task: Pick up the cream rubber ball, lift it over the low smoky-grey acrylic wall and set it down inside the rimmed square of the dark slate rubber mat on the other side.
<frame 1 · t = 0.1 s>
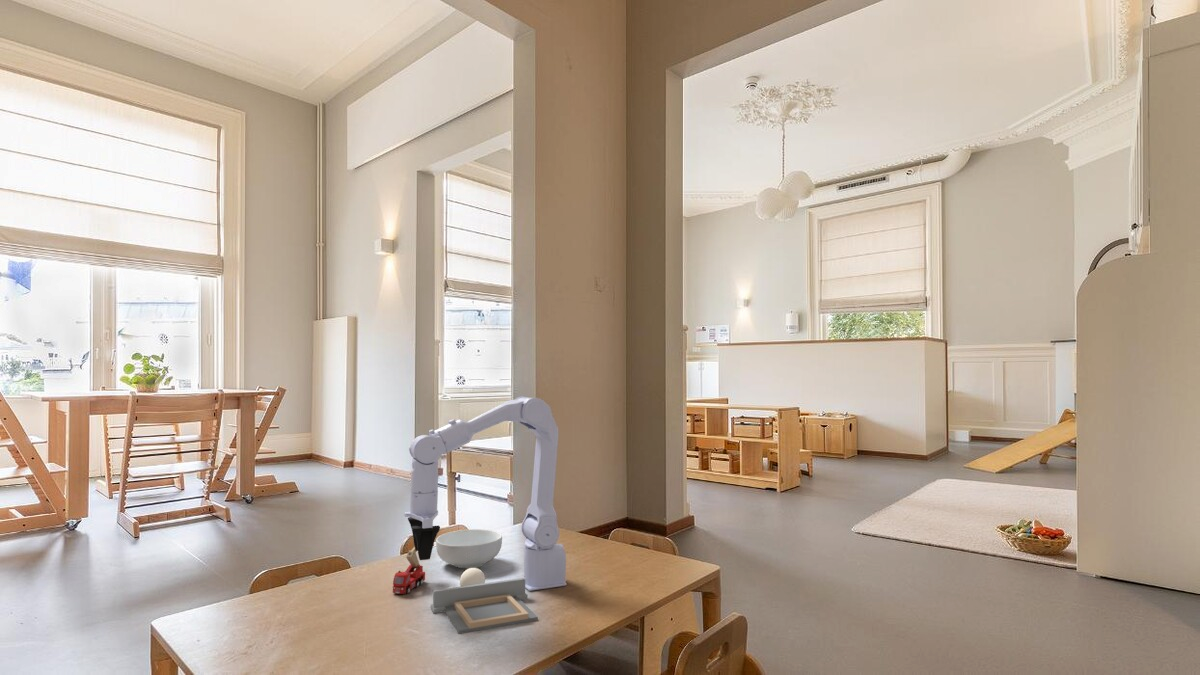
hand: (422, 554, 135), 10 cm above the table, tool pointing down, fingers open, 7 cm apart
acrylic wall: (480, 603, 133), on the table
ball: (472, 581, 139), point 3 cm above the table
resting mat: (490, 615, 126), on the table
toy fire truck: (412, 586, 144), on the table
cereal bowl: (468, 564, 161), on the table
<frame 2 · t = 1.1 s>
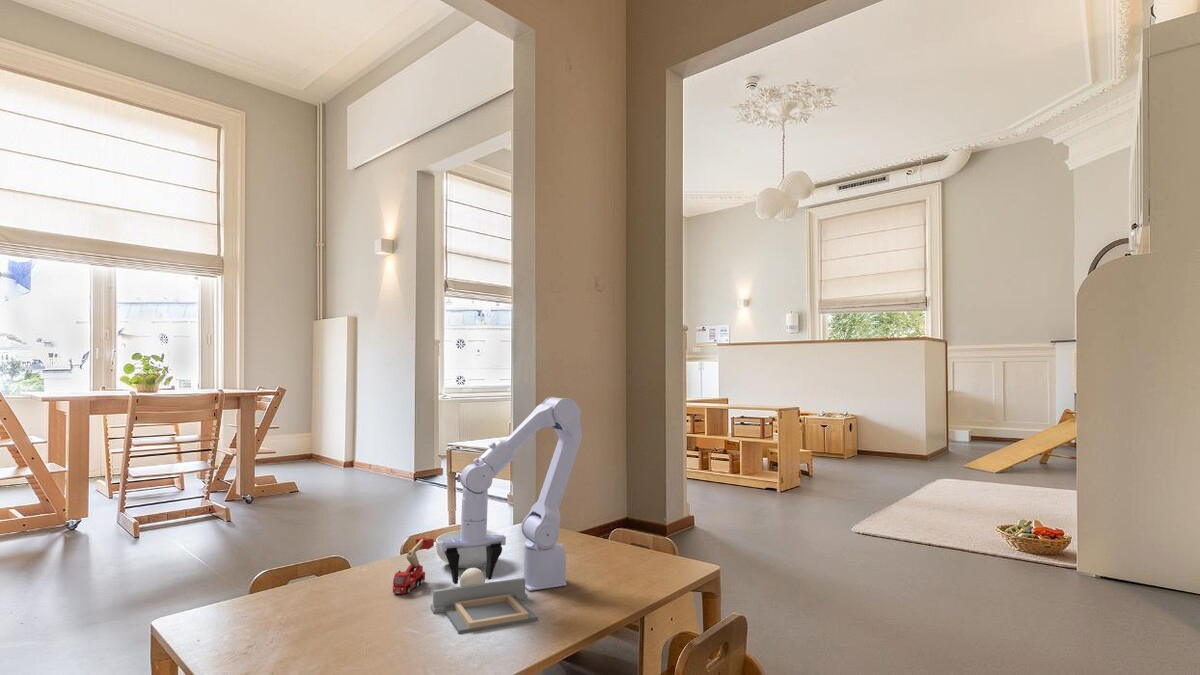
hand: (472, 580, 139), 3 cm above the table, tool pointing down, fingers open, 7 cm apart
nothing on the table moved.
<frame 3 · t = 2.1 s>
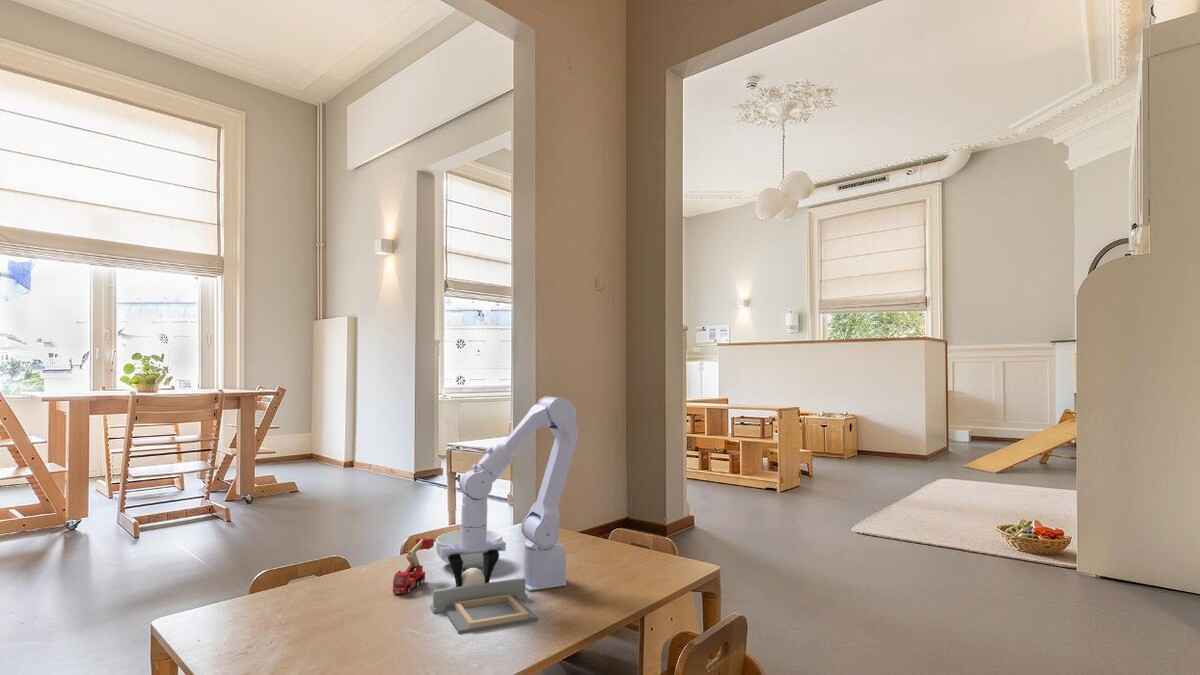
hand: (472, 586, 139), 2 cm above the table, tool pointing down, fingers closed on ball, 6 cm apart
ball: (472, 581, 139), point 3 cm above the table, touching gripper
everything else where it was.
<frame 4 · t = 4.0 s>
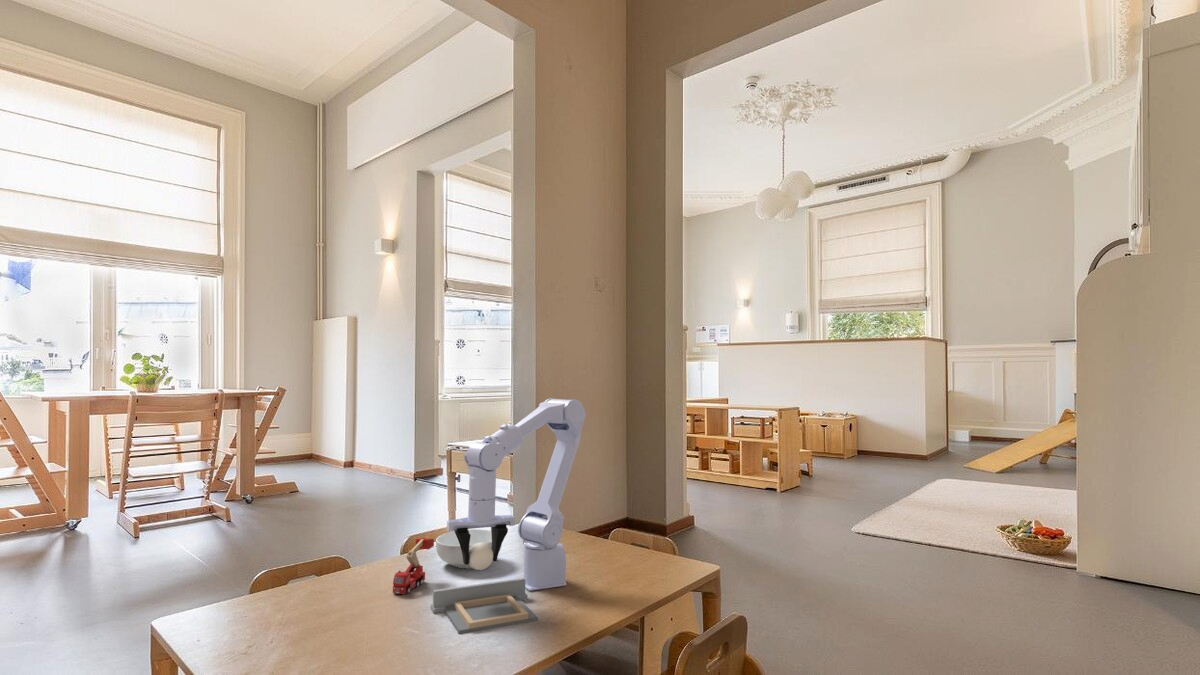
hand: (480, 561, 134), 9 cm above the table, tool pointing down, fingers closed on ball, 6 cm apart
ball: (480, 556, 134), point 10 cm above the table, touching gripper
everything else where it was.
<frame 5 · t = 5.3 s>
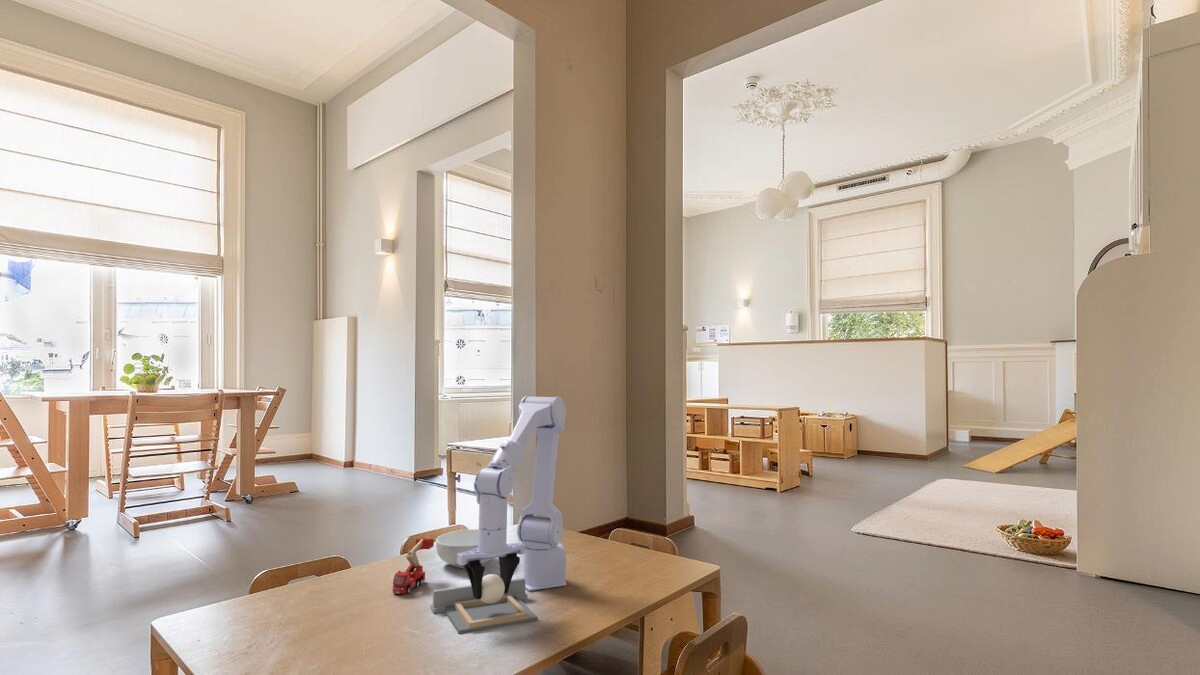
hand: (490, 594, 127), 4 cm above the table, tool pointing down, fingers closed on ball, 6 cm apart
ball: (490, 588, 127), point 5 cm above the table, touching gripper
everything else where it was.
when the fingers open (3 cm above the table, at t = 6.1 s): ball stays where it is, resting on resting mat.
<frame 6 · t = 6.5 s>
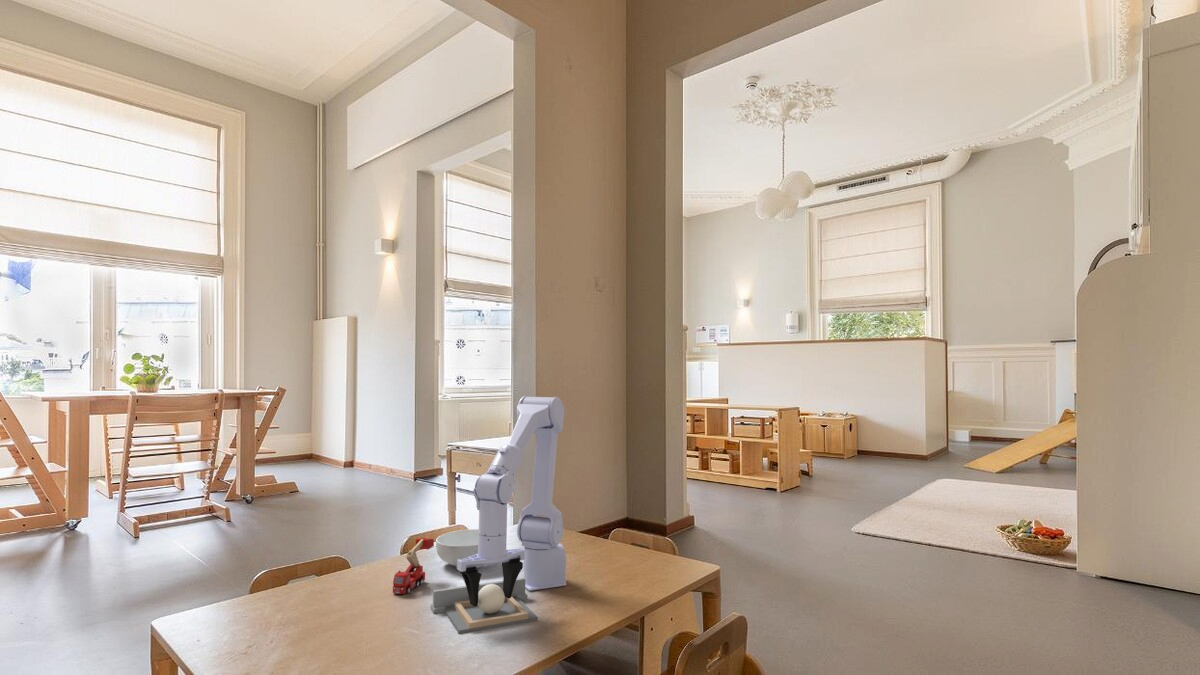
hand: (490, 600, 127), 3 cm above the table, tool pointing down, fingers open, 7 cm apart
ball: (490, 598, 127), point 3 cm above the table, touching resting mat
everything else where it was.
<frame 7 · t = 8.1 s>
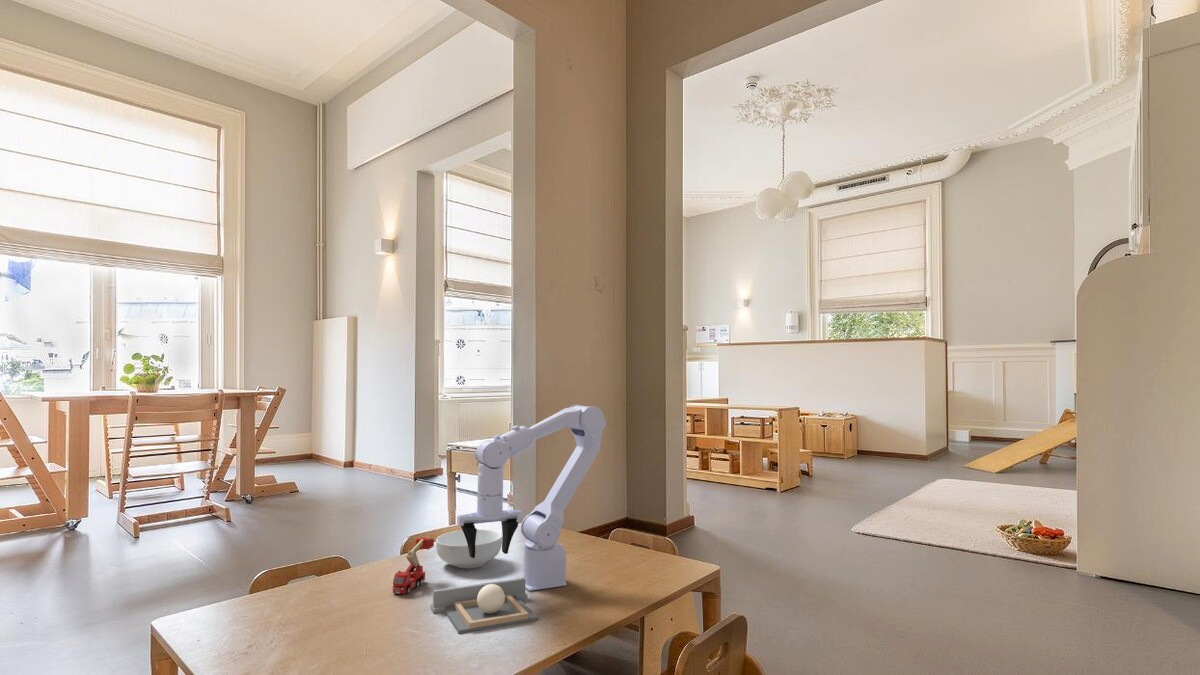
hand: (488, 554, 140), 8 cm above the table, tool pointing down, fingers open, 7 cm apart
nothing on the table moved.
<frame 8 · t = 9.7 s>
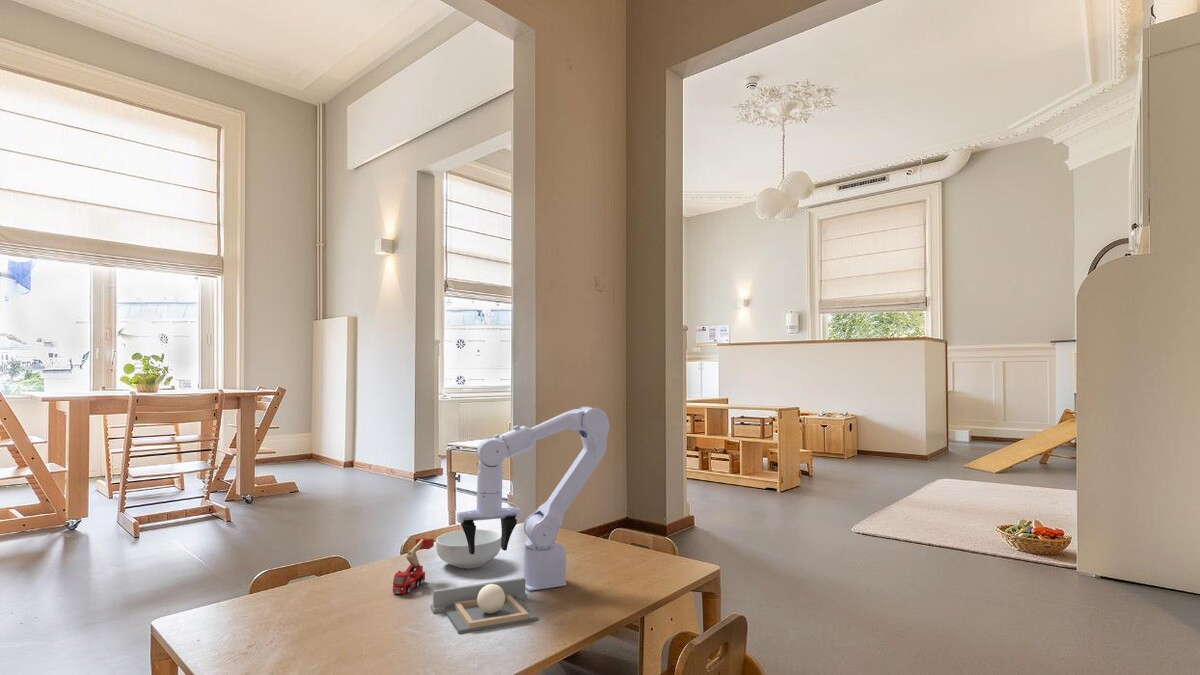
hand: (488, 551, 143), 8 cm above the table, tool pointing down, fingers open, 7 cm apart
nothing on the table moved.
at the end: ball inside the target area on the resting mat (0.1 cm from its centre), point 3.4 cm above the resting mat's base; the gripper is holding nothing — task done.
